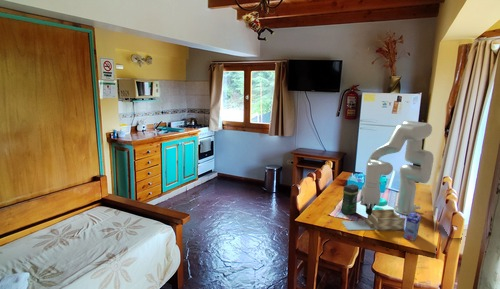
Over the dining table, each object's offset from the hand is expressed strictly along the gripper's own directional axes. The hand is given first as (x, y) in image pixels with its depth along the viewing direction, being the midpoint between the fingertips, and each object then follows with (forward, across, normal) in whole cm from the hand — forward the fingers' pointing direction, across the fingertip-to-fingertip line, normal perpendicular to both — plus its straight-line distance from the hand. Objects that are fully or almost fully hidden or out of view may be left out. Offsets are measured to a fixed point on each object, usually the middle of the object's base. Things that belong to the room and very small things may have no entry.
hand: (368, 214), depth 174 cm
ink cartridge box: (+8, -19, +13) cm, 24 cm away
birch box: (+8, -11, 0) cm, 13 cm away
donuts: (+8, -15, -16) cm, 23 cm away
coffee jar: (+8, +3, -19) cm, 21 cm away
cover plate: (+8, +6, -1) cm, 10 cm away
